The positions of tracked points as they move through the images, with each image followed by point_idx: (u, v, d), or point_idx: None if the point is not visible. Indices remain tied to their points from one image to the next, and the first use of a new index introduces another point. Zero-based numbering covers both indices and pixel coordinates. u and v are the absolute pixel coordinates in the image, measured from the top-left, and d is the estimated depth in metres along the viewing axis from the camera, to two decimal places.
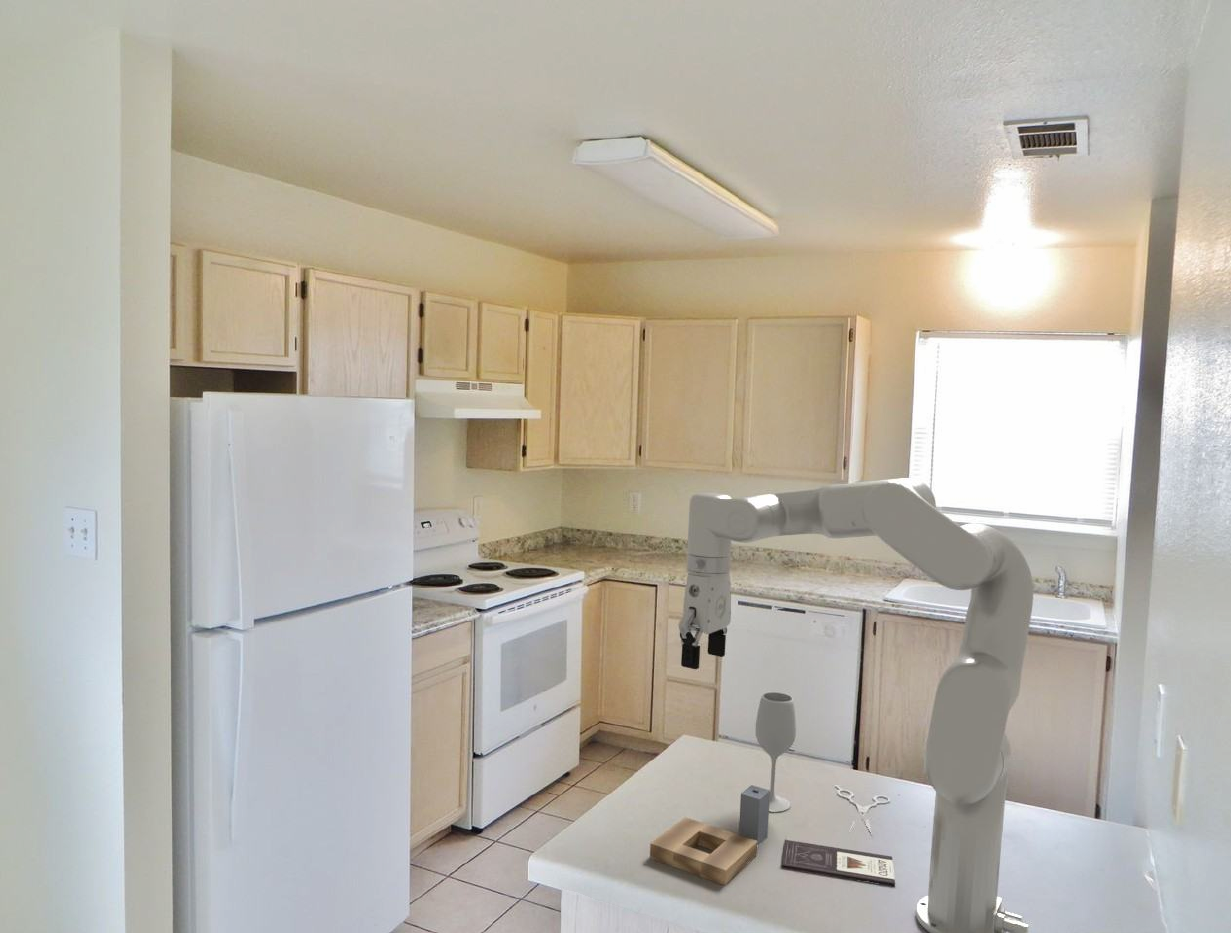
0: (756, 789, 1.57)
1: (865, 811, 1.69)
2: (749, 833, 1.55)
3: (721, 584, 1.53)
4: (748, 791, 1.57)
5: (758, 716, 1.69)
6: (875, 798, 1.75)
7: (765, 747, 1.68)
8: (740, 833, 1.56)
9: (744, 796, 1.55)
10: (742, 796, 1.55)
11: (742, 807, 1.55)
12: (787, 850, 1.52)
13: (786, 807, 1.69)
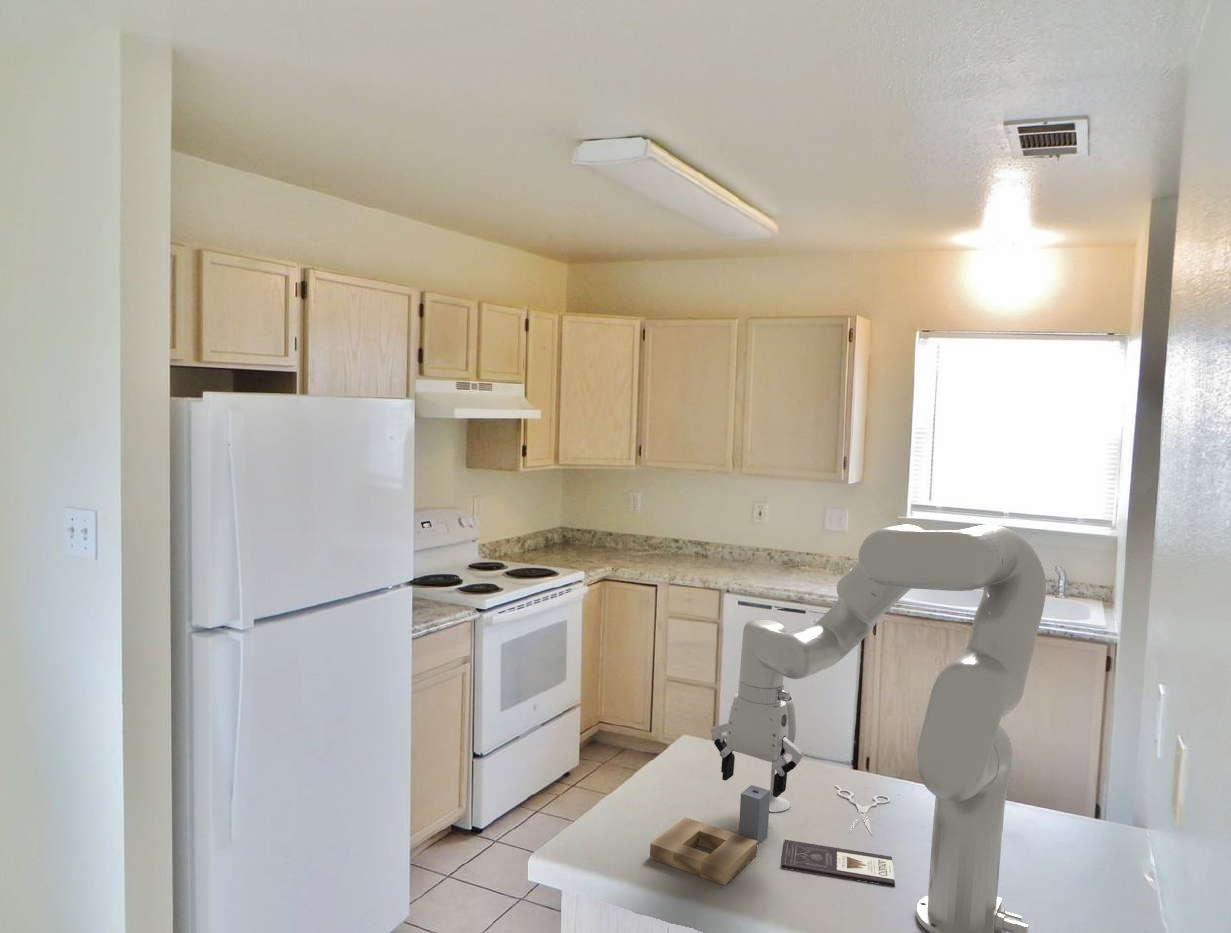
0: (756, 789, 1.57)
1: (865, 811, 1.69)
2: (749, 833, 1.55)
3: None
4: (748, 791, 1.57)
5: None
6: (875, 798, 1.75)
7: None
8: (740, 833, 1.56)
9: (744, 796, 1.55)
10: (742, 796, 1.55)
11: (742, 807, 1.55)
12: (787, 850, 1.52)
13: (786, 807, 1.69)
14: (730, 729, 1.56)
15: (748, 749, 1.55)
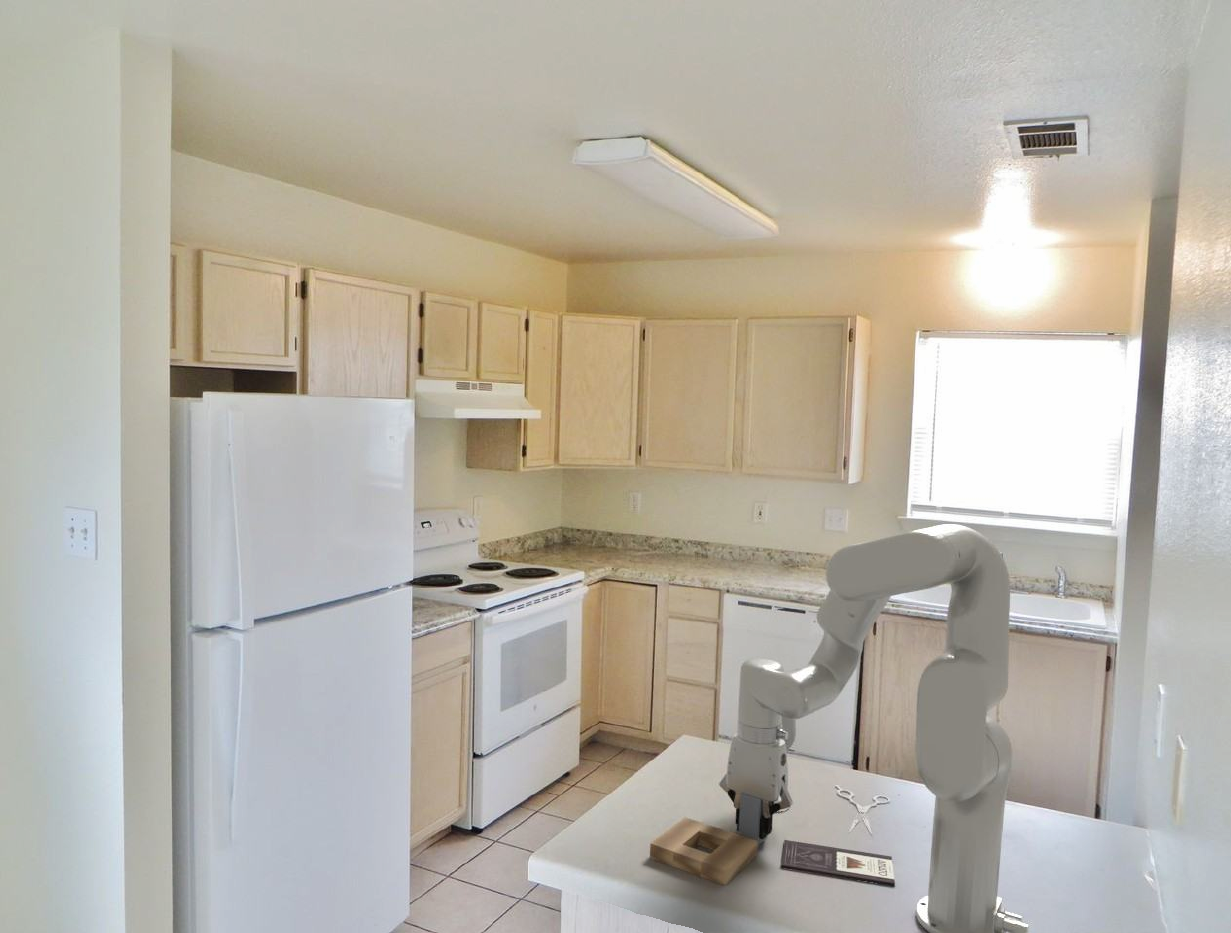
0: None
1: (865, 811, 1.69)
2: (749, 833, 1.55)
3: None
4: None
5: None
6: (875, 798, 1.75)
7: None
8: (740, 833, 1.56)
9: (744, 796, 1.55)
10: (742, 796, 1.55)
11: (742, 807, 1.55)
12: (786, 850, 1.52)
13: None
14: (730, 769, 1.57)
15: (748, 789, 1.55)
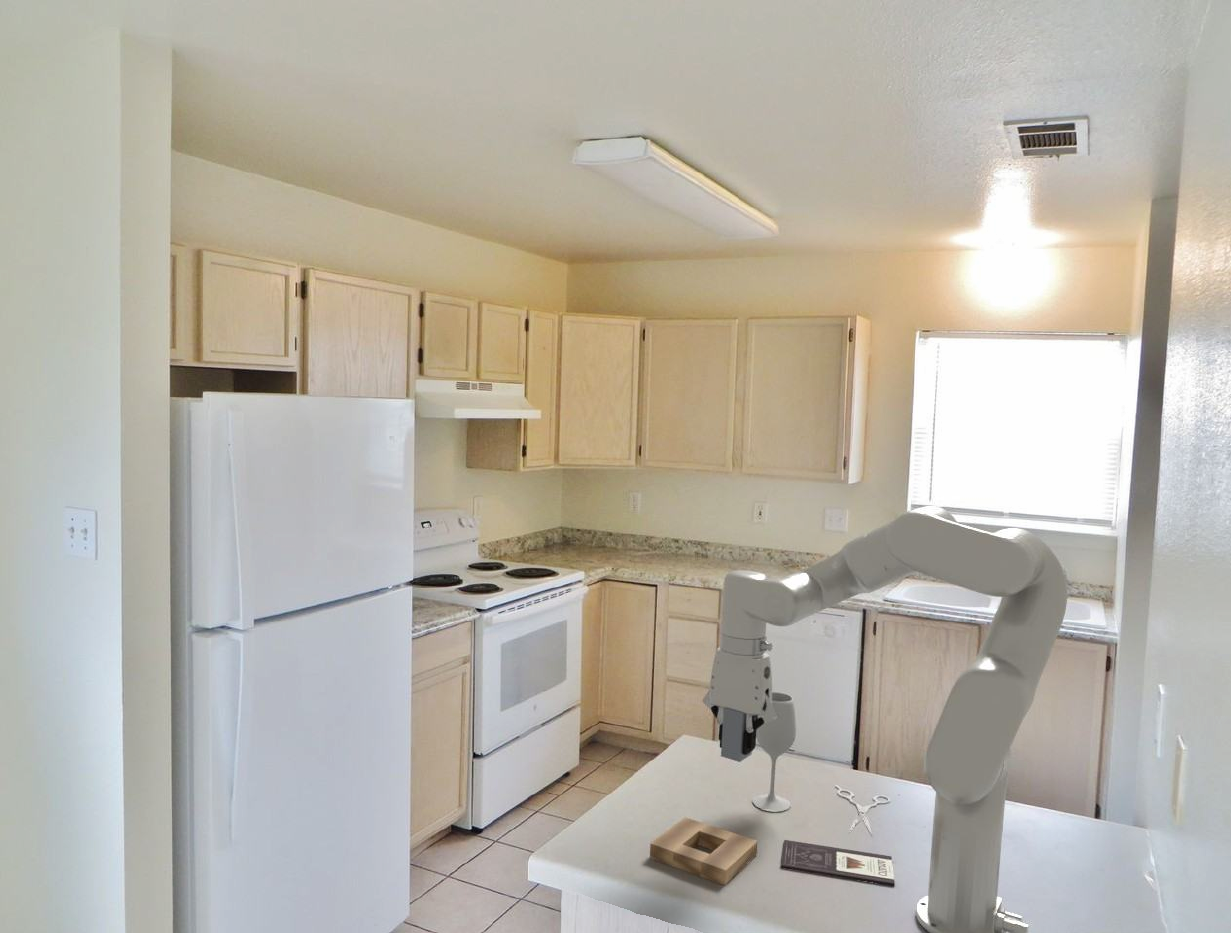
0: None
1: (865, 811, 1.69)
2: (732, 748, 1.51)
3: None
4: None
5: None
6: (875, 798, 1.75)
7: (765, 747, 1.68)
8: (723, 749, 1.52)
9: (727, 711, 1.51)
10: (725, 710, 1.51)
11: (725, 722, 1.51)
12: (786, 850, 1.52)
13: (786, 807, 1.69)
14: (713, 683, 1.53)
15: (731, 703, 1.51)
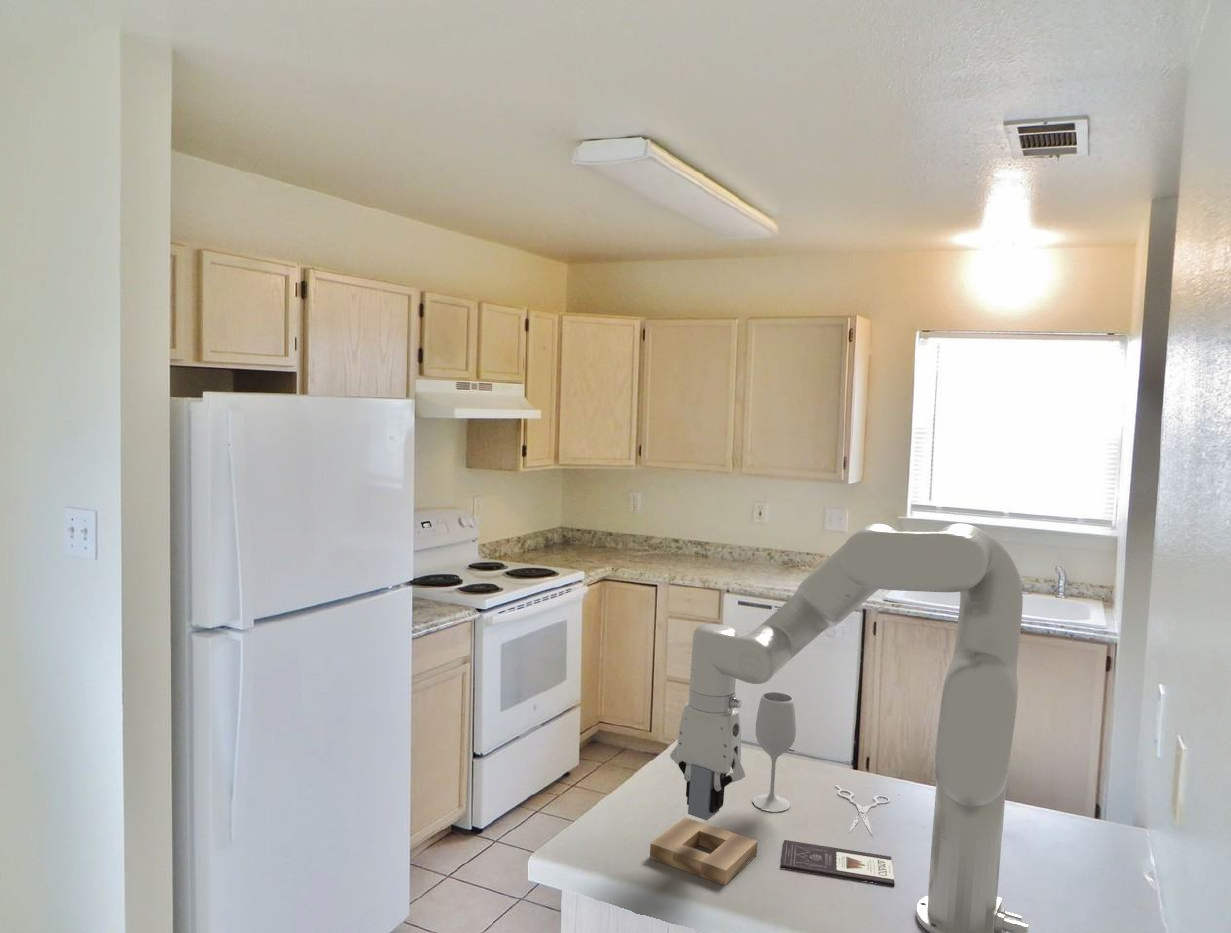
0: None
1: (865, 811, 1.69)
2: (699, 806, 1.48)
3: None
4: None
5: (758, 716, 1.69)
6: (875, 798, 1.75)
7: (765, 747, 1.68)
8: (690, 806, 1.49)
9: (694, 768, 1.48)
10: (692, 767, 1.48)
11: (692, 779, 1.48)
12: (786, 850, 1.52)
13: (786, 807, 1.69)
14: (680, 739, 1.49)
15: (699, 760, 1.47)
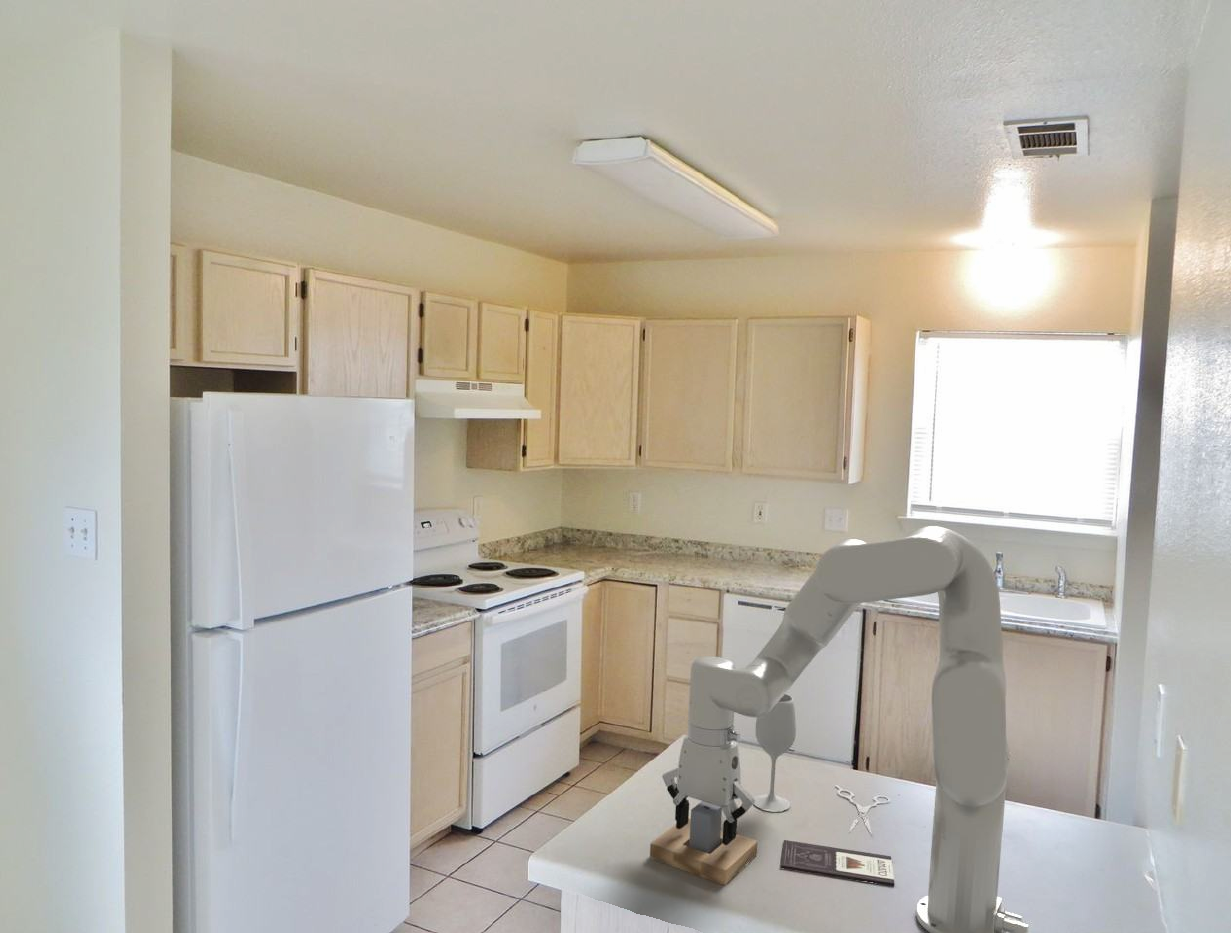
0: (707, 805, 1.50)
1: (865, 811, 1.69)
2: None
3: None
4: (699, 807, 1.49)
5: None
6: (875, 798, 1.75)
7: (765, 747, 1.68)
8: None
9: (694, 813, 1.48)
10: (692, 812, 1.48)
11: (692, 824, 1.48)
12: (786, 850, 1.52)
13: (786, 807, 1.69)
14: (680, 772, 1.49)
15: (699, 793, 1.48)
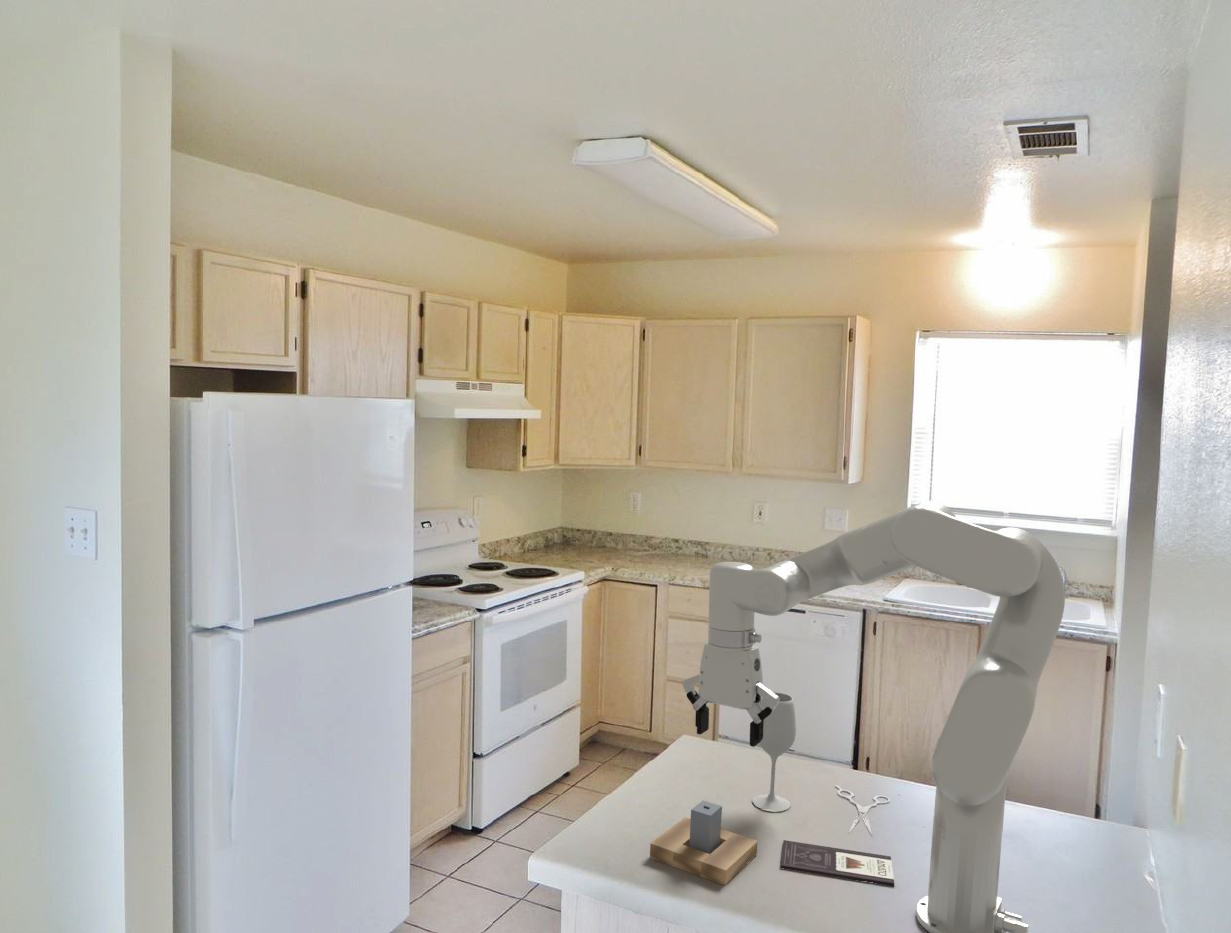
0: (707, 805, 1.51)
1: (865, 811, 1.69)
2: None
3: None
4: (699, 807, 1.49)
5: None
6: (875, 798, 1.75)
7: (765, 747, 1.68)
8: None
9: (694, 813, 1.48)
10: (692, 812, 1.48)
11: (692, 824, 1.48)
12: (786, 850, 1.52)
13: (786, 807, 1.69)
14: (702, 679, 1.49)
15: (721, 698, 1.47)
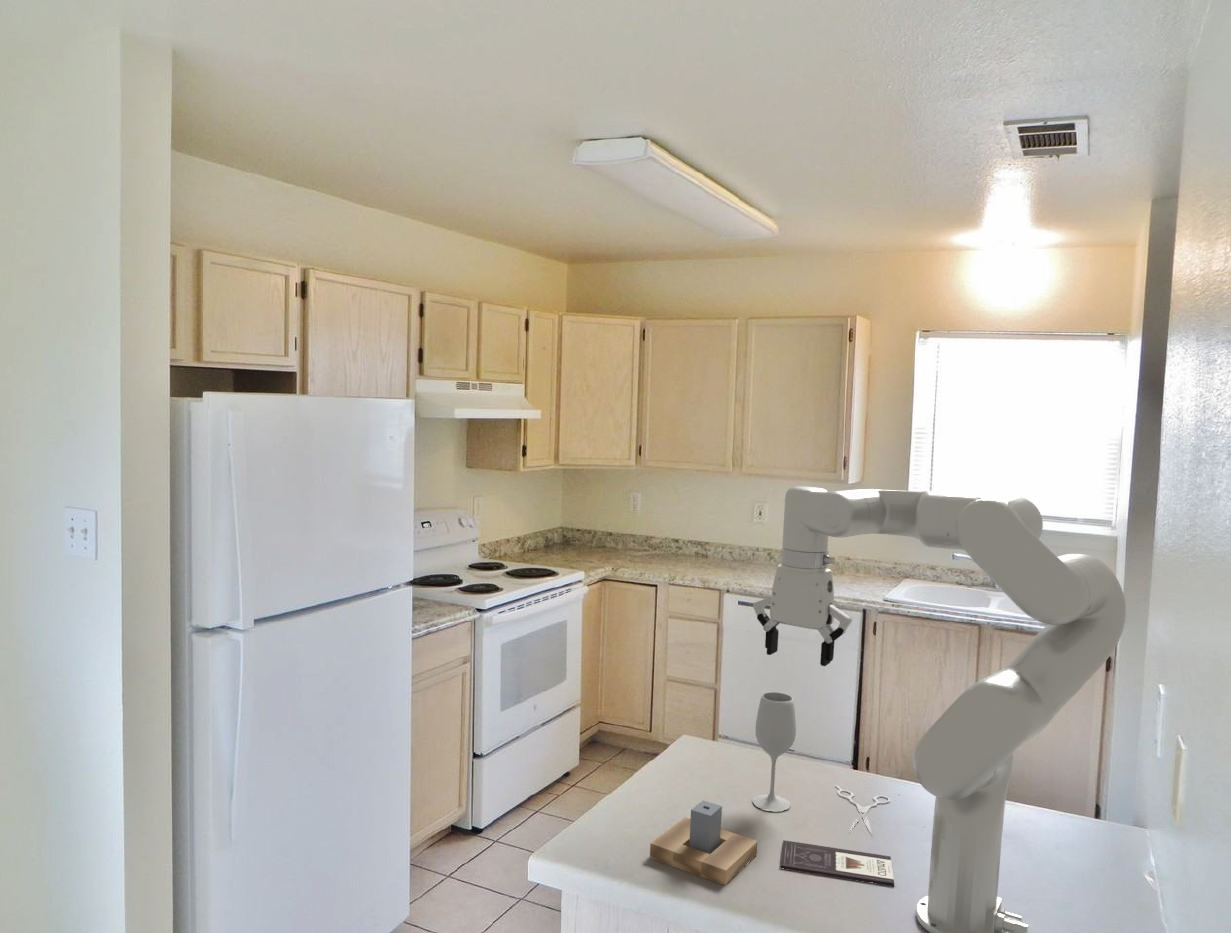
0: (707, 805, 1.50)
1: (865, 811, 1.69)
2: None
3: None
4: (699, 807, 1.49)
5: (758, 716, 1.69)
6: (875, 798, 1.75)
7: (765, 747, 1.68)
8: None
9: (694, 813, 1.48)
10: (692, 812, 1.48)
11: (692, 824, 1.48)
12: (785, 850, 1.52)
13: (786, 807, 1.69)
14: (774, 600, 1.52)
15: (793, 618, 1.50)
